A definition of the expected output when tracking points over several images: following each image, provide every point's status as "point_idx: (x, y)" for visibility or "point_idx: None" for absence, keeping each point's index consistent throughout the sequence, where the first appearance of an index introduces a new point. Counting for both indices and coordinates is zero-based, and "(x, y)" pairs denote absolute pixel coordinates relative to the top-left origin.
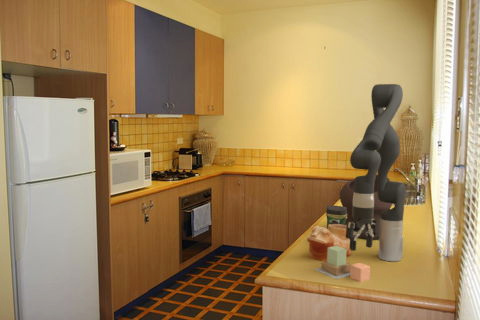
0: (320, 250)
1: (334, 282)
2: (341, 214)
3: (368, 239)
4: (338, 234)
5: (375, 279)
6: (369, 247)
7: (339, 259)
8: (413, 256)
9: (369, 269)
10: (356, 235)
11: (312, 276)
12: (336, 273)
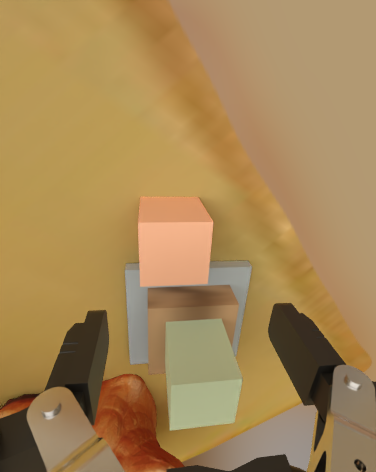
0: (155, 440)
1: (255, 261)
2: None
3: (96, 384)
4: None
5: (90, 204)
6: (106, 315)
7: (212, 341)
8: None
9: (145, 217)
10: (368, 422)
11: (265, 326)
12: (232, 291)
